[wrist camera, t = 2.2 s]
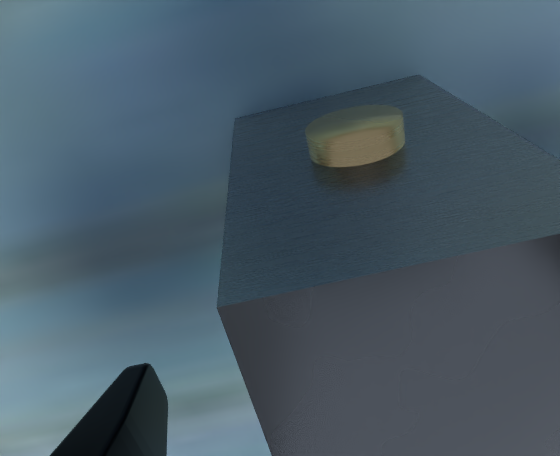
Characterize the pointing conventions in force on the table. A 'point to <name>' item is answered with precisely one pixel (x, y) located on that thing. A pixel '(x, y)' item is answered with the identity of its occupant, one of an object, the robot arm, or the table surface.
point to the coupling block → (394, 277)
